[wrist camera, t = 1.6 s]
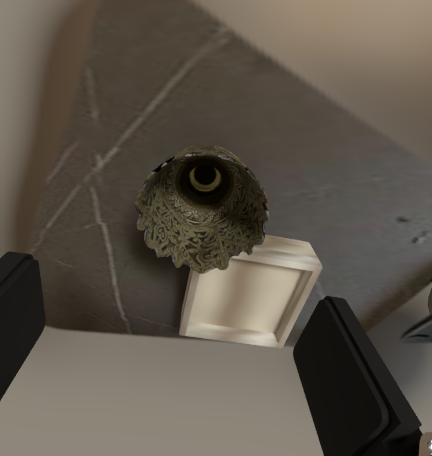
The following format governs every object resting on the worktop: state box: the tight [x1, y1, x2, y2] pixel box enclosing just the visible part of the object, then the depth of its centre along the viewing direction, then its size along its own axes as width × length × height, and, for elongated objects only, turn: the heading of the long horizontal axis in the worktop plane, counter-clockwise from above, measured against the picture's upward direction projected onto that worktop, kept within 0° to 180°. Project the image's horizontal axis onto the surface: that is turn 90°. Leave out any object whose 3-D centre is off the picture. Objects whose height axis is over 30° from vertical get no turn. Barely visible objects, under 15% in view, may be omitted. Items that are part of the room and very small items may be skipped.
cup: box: [135, 144, 270, 274], centre depth 19 cm, size 7×7×8 cm
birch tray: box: [179, 234, 323, 348], centre depth 26 cm, size 10×10×4 cm
